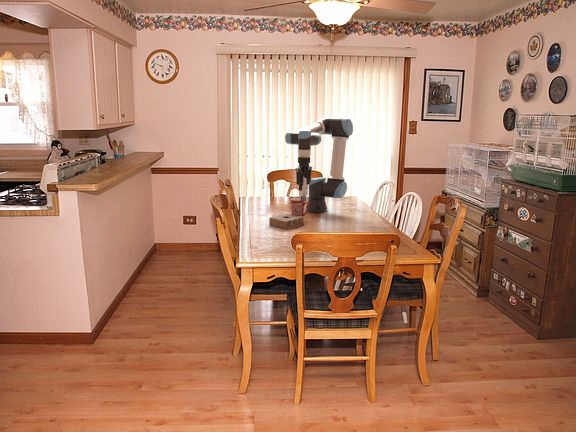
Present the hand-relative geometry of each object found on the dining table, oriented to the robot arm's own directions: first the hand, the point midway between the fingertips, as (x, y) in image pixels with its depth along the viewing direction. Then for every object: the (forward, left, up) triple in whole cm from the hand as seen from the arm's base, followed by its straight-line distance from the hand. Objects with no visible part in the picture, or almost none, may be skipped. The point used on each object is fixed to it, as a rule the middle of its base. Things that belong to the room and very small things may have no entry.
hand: (303, 195), depth 287 cm
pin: (0, 0, -4) cm, 4 cm away
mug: (-10, -11, -19) cm, 24 cm away
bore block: (+7, -7, -19) cm, 21 cm away
